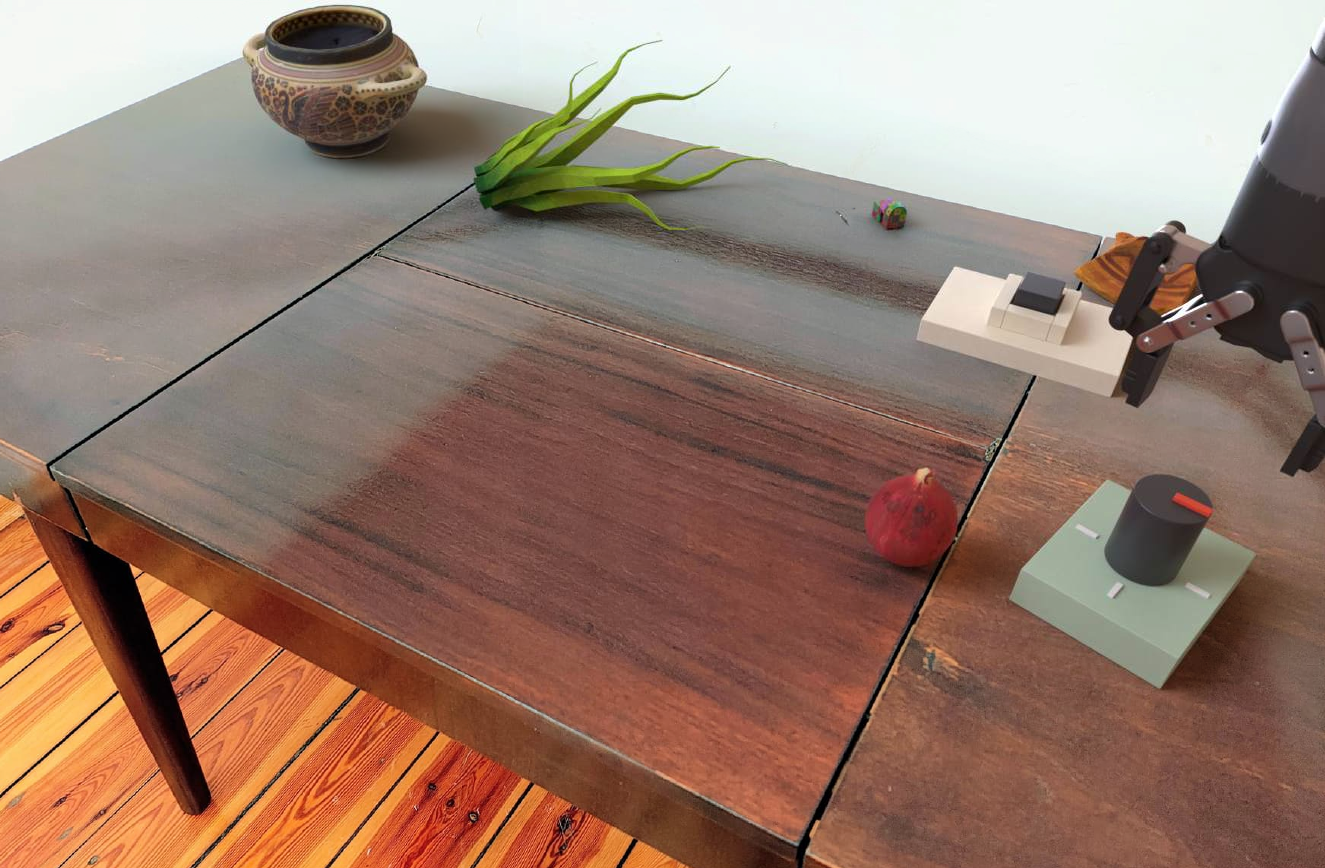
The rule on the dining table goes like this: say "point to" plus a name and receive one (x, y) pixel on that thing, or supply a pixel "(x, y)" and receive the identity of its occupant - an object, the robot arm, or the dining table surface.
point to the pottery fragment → (1115, 268)
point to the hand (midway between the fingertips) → (1211, 432)
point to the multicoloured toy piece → (889, 213)
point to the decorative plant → (536, 179)
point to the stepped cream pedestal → (1027, 331)
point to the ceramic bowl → (334, 77)
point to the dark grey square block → (1039, 293)
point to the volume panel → (1127, 591)
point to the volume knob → (1157, 529)
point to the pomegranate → (911, 519)
